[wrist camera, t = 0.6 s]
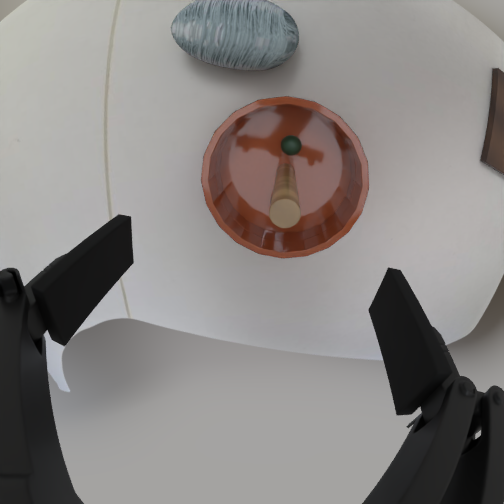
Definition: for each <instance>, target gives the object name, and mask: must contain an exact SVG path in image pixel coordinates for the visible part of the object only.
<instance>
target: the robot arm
mask: <svg viewBox="0 0 504 504" xmlns="http://www.w3.org/2000/svg"><path fill="white" fill-rule="evenodd" d="M133 263H134V261H133V248H132V229H131V217H130V216H125V215H117V216H116V217H115V218H113V219H112V220H110V221H109V222H108V223H106V224H105V225H104V226H102V227H101V228H99V229H98V230H97V231H95V232H94V233H93V234H92V235H90V236H89V237H88V238H86V239H85V240H84V241H82V242H81V243H80V244H79V245H77V246H76V247H75V248H74V249H72V250H71V251H70V252H69V253H67V254H65V255H62V256H60V257H58V258H56V259H55V260H54V261H53V262H52V263H50V264H49V266H47V267H46V268H45V269H44V271H41V272H40V273H39V274H38V275H37V276H35V277H34V278H33V279H32V280H31V281H30V282H29V283H28V284H27V285H26V286H24V285H23V282H22V279H21V276H20V273H19V271H18V270H17V269H15V268H7V269H4V270H2V271H0V504H84V503H83V502H82V501H81V499H80V498H79V497H78V496H77V494H76V493H75V491H74V488H73V485H72V483H71V480H70V477H69V474H68V471H67V468H66V465H65V461H64V458H63V455H62V451H61V447H60V443H59V439H58V435H57V430H56V426H55V421H54V416H53V410H52V405H51V397H50V390H49V382H48V372H47V360H46V341H45V337H44V335H43V334H44V333H45V332H46V331H47V330H48V332H49V334H50V337H51V339H52V340H53V341H55V342H57V343H59V344H61V345H63V346H65V345H66V344H67V343H68V341H69V340H70V339H71V337H72V336H73V335H74V333H75V332H76V331H77V330H78V328H79V327H80V326H81V324H82V323H83V322H84V321H85V319H86V318H87V317H88V316H89V314H90V313H91V312H92V311H93V309H94V308H95V307H96V306H97V305H98V303H99V302H100V301H101V300H102V298H103V297H104V296H105V295H106V294H107V293H108V291H109V290H110V289H111V288H112V287H113V286H114V284H115V283H116V282H117V281H118V280H119V279H120V277H121V276H122V275H123V274H124V273H125V272H126V271H127V270H128V268H129V267H130V266H131V265H132V264H133ZM369 313H370V316H371V319H372V323H373V326H374V329H375V332H376V336H377V339H378V342H379V346H380V349H381V353H382V356H383V360H384V364H385V368H386V371H387V375H388V379H389V383H390V388H391V392H392V396H393V400H394V405H395V410H396V414H397V415H409V414H412V413H413V412H415V411H416V410H417V408H418V407H421V411H422V413H421V414H420V415H419V416H418V417H416V418H415V419H414V420H413V421H412V422H411V423H409V425H408V426H407V427H408V428H409V427H410V426H411V425H413V424H414V425H413V427H412V429H411V431H410V432H409V434H408V436H407V438H406V439H405V441H404V443H403V445H402V447H401V448H400V450H399V452H398V453H397V455H396V457H395V458H394V460H393V461H392V463H391V464H390V466H389V467H388V469H387V471H386V472H385V473H384V475H383V476H382V478H381V479H380V481H379V482H378V483H377V485H376V486H375V488H374V489H373V490H372V492H371V493H370V494H369V496H368V497H367V498H366V500H365V501H364V502H363V503H362V504H503V502H504V391H503V390H502V389H501V388H500V387H498V386H492V387H490V388H489V389H488V391H487V392H486V393H483V392H479V391H477V390H476V387H475V385H474V384H473V382H472V381H471V380H470V379H469V378H467V377H464V376H460V375H459V373H458V371H457V368H456V366H455V364H454V362H453V359H452V357H451V355H450V353H449V352H448V351H449V350H448V349H447V346H446V345H445V342H444V340H443V338H442V336H441V334H440V333H439V332H438V331H437V330H436V329H435V328H434V327H432V326H431V324H430V322H429V320H428V318H427V316H426V314H425V313H424V311H423V309H422V307H421V305H420V303H419V301H418V300H417V298H416V296H415V294H414V292H413V291H412V289H411V287H410V285H409V284H408V282H407V280H406V279H405V277H404V275H403V274H402V272H401V270H397V269H393V268H388V269H387V272H386V274H385V276H384V278H383V281H382V283H381V285H380V287H379V289H378V291H377V293H376V296H375V298H374V300H373V302H372V304H371V306H370V308H369ZM480 430H481V436H480V437H478V438H477V439H475V434H476V433H477V432H479V431H480Z"/></svg>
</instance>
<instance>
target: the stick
mask: <svg viewBox="0 0 504 504" xmlns="http://www.w3.org/2000/svg"><path fill="white" fill-rule="evenodd" d="M269 216H270V219H271V221H272V222H273V223H274V224H275V225H276V226H278V227H281V228H290V227H292V226H294V225H296V224H297V223H298V221H299V219H300V217H301V210H300V203H299V196H298V189H297V182H296V176H295V170H294V168H293V166H292V165H290V164H288V163H284V164H281V165H280V166H279V167H278V168H277V172H276V177H275V183H274V188H273V193H272V199H271V204H270V209H269Z"/></svg>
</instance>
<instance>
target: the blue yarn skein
mask: <svg viewBox="0 0 504 504" xmlns="http://www.w3.org/2000/svg"><path fill="white" fill-rule="evenodd" d="M171 32H172V35H173V38H174V39H175V41H176V43H177V44H178V45H179V46H180V47H181V48H182V49H183V50H184V51H185V52H187V53H188V54H189V55H191V56H193V57H195V58H197V59H199V60H202V61H204V62H206V63H209V64H213V65H217V66H221V67H226V68H232V69H241V70H266V69H271V68H274V67H276V66H279V65H280V64H282V63H283V62H285V61H286V60H287V59H288V58H290V57H291V56H292V54H293V53H294V52H295V50H296V48H297V45H298V41H299V32H298V28H297V25H296V23H295V21H294V19H293V18H292V17H291V16H290V15H289V14H288V13H287V12H286V11H285V10H283V9H282V8H281V7H279V6H277V5H275V4H274V3H272V2H269V1H266V0H196V1H194V2H193V3H191V4H189V5H188V6H186V7H185V8H184V9H183V10H182V11H181V12H180V13H179V14H178V15H177V16H176V18H175V19H174V21H173V23H172V25H171Z"/></svg>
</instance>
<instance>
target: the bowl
mask: <svg viewBox="0 0 504 504" xmlns="http://www.w3.org/2000/svg"><path fill="white" fill-rule="evenodd" d="M288 135H294V136H296V137H298V138H299V139H300V141H301V143H302V148H301V150H300V152H299V153H298V154H296V155H287V154H285V153H284V152H283V151H282V149H281V141H282V139H283V138H284V137H286V136H288ZM284 163H288V164H290V165H292V166H293V168H294V170H295V176H296V182H297V189H298V196H299V203H300V210H301V217H300V219H299V221H298V223H297V224H296V225H294V226H292V227H290V228H281V227H278V226H276V225H275V224H274V223H273V222H272V221H271V219H270V216H269V209H270V204H271V203H270V200H271V197H272V193H273V188H274V183H275V177H276V172H277V168H278V167H279V166H280V165H281V164H284ZM201 182H202V187H203V191H204V196H205V200H206V204H207V206H208V208H209V210H210V212H211V213H212V215H213V217H214V218H215V220H216V222H217V224H218V225H219V227H220V228H221V229H223V230H224V231H225V232H226V233H227V234H228V235H229V236H230V237H231V238H232V239H233V240H234V241H235V242H237V243H238V244H240V245H242V246H244V247H246V248H248V249H250V250H252V251H254V252H256V253H259V254H262V255H267V256H273V257H278V258H292V257H304V256H308V255H311V254H313V253H316V252H319V251H321V250H324V249H326V248H329V247H330V246H331V245H333V244H334V243H335V242H337V241H338V240H339V239H340V238H342V237H343V236H344V235H346V234H347V233H348V232H349V231H350V229H351V228H352V226H353V225H354V224H355V222H356V221H357V219H358V218H359V216H360V215H361V213H362V211H363V207H364V204H365V200H366V197H367V194H368V190H369V176H368V161H367V159H366V156H365V154H364V151H363V148H362V146H361V143H360V141H359V139H358V137H357V136H356V134H355V133H354V132H353V131H352V130H351V129H350V127H349V126H348V125H347V124H346V123H345V122H344V120H343V119H342V118H341V117H340V116H338V115H337V114H335V113H334V112H332V111H330V110H329V109H327V108H325V107H323V106H322V105H320V104H318V103H316V102H313V101H309V100H304V99H299V98H294V97H289V96H284V97H275V98H268V99H261V100H257V101H255V102H253V103H251V104H249V105H247V106H245V107H243V108H241V109H239V110H237V111H235V112H234V113H232V114H231V115H230V116H229V117H228V118H227V120H226V121H225V122H224V123H223V124H222V125H221V126H220V127H219V128H218V129H217V130H216V131H215V132H214V134H213V137H212V139H211V141H210V143H209V145H208V147H207V149H206V152H205V154H204V157H203V167H202V177H201Z"/></svg>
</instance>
